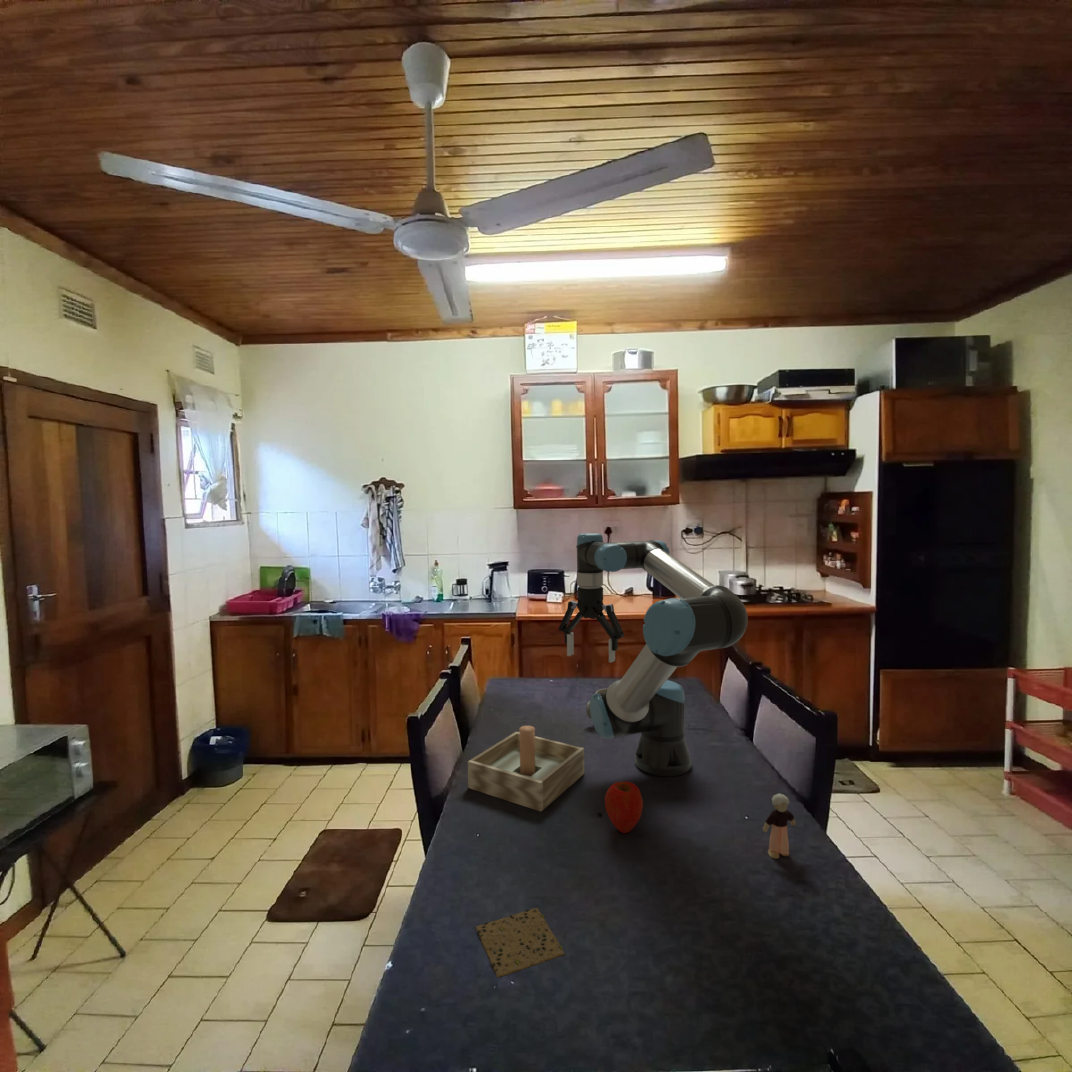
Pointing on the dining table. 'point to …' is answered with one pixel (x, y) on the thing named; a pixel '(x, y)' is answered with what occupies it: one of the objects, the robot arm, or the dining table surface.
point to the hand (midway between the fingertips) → (590, 658)
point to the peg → (527, 750)
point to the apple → (624, 805)
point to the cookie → (518, 942)
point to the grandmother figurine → (779, 826)
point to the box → (503, 779)
